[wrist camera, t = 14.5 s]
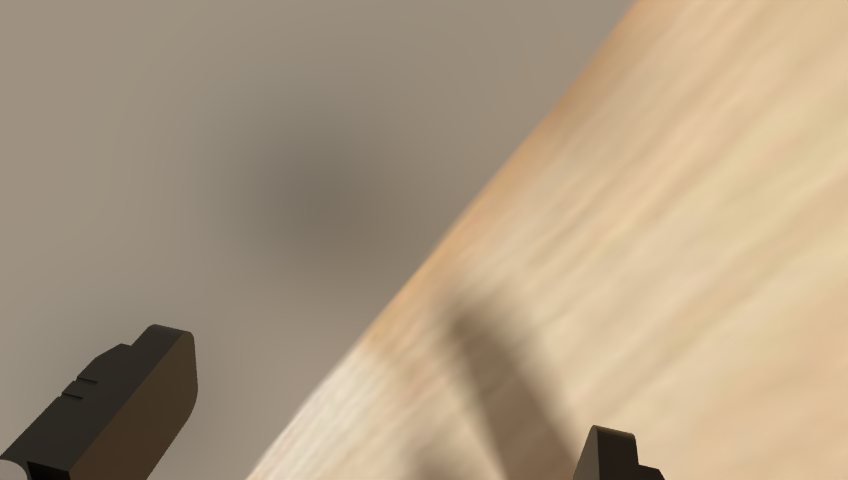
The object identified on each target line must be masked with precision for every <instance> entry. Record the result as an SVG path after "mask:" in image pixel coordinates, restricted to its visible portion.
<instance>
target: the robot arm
mask: <svg viewBox="0 0 848 480" xmlns="http://www.w3.org/2000/svg"><path fill="white" fill-rule="evenodd" d="M197 392H198V383H197V371H196V358H195V345H194V337H193V335H192V333H191V332H188V331H183V330H179V329H174V328H170V327H165V326H161V325H157V324H154V325H151V326H149V327H148V328H147V329H146V330H145V331H144V332H143V333H142V335H141V336H140V337H139V338H138V339H137V340H136V341H135V342H134V343H133V344H132V345H131V346H129V345H126V344H119V345H117V346H116V347H114V348H112V349H110V350H108V351H107V352H105V353H103V354H101V355H99V356H98V357H96V358H95V359H94V360H93V361H92V362H91V363H90V364H89V365H88V366H87V367H86V368H85V369H84V370H83V371H82V372H81V373H80V374H79V375H78V376H77V379H76V381H73V382H71V383H70V384H69V386H68V387H67V388H66V389H65V390H64V391H63V392H62V395H61V396H60V397H57V398H56V399H55V400H54V401H53V402H52V403H51V404H50V405H49V406H48V408H46V409H45V411H44V412H43V413H42V414H41V415H40V416H39V417H38V418H37V419H36V420H35V421H34V422H33V423H32V424H31V425H30V426H29V427H28V428H27V429H26V430H25V431H24V432H23V433H22V434H21V435H20V436H19V437H18V439H16V441H14V443H13V444H12V445H11V446H10V447H9V448H8V449H7V450H6V451H5V452H4V453H3V454H2V455H1V456H0V480H146V479H147V478H148V476H149V475H150V473H151V472H152V471H153V469H154V468H155V466H156V465H157V463H158V462H159V460H160V459H161V457H162V456H163V455H164V453H165V452H166V450H167V449H168V447H169V446H170V444H171V443H172V442H173V440H174V439H175V437H176V436H177V434H178V433H179V431H180V430H181V428H182V427H183V426H184V424H185V422H186V421H187V420H188V418H189V416H190V415H191V413H192V410H193V408H194V405H195V402H196V398H197ZM573 480H665V479H664V477H663V476H662V474H661V472H660V471H659V469H655V468H651V467H647V466H642V465H639V463H638V455H637V446H636V439H635V436H634V435H633V434H631V433H627V432H622V431H618V430H614V429H609V428H605V427H600V426H596V425H593V426H592V427H591V429H590V432H589V434H588V437H587V440H586V443H585V446H584V448H583V451H582V454H581V457H580V460H579V462H578V465H577V468H576V471H575V474H574V476H573Z"/></svg>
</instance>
